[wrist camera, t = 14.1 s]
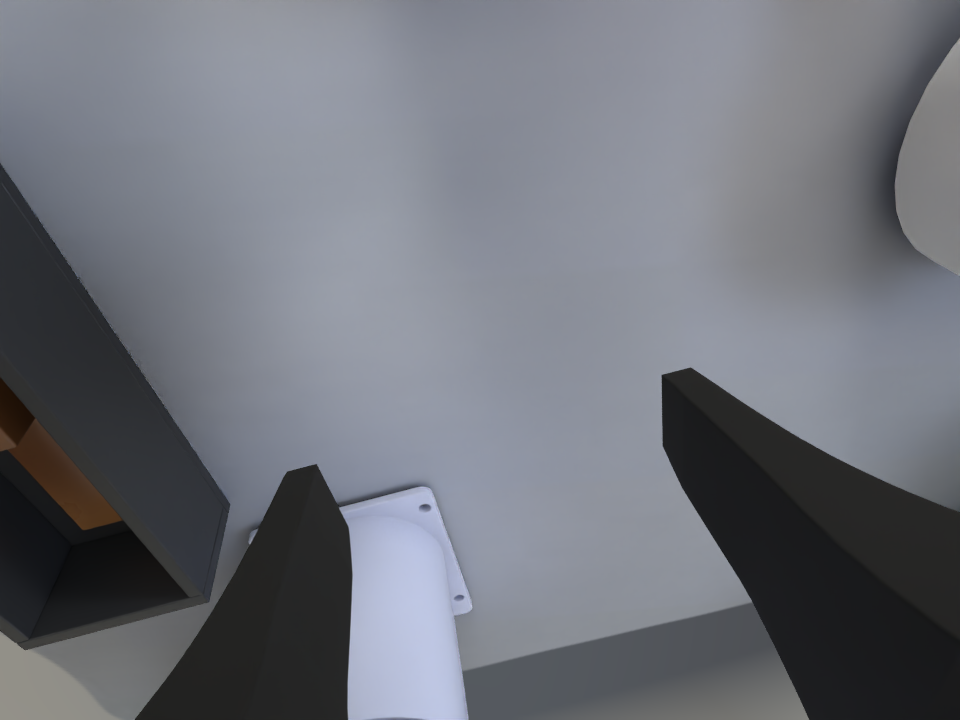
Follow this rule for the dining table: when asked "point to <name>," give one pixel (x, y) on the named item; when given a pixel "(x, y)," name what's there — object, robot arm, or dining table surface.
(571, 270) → the dining table surface
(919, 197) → the saucepan
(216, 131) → the dining table surface
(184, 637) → the dining table surface
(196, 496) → the tub
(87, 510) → the notched wooden bar
